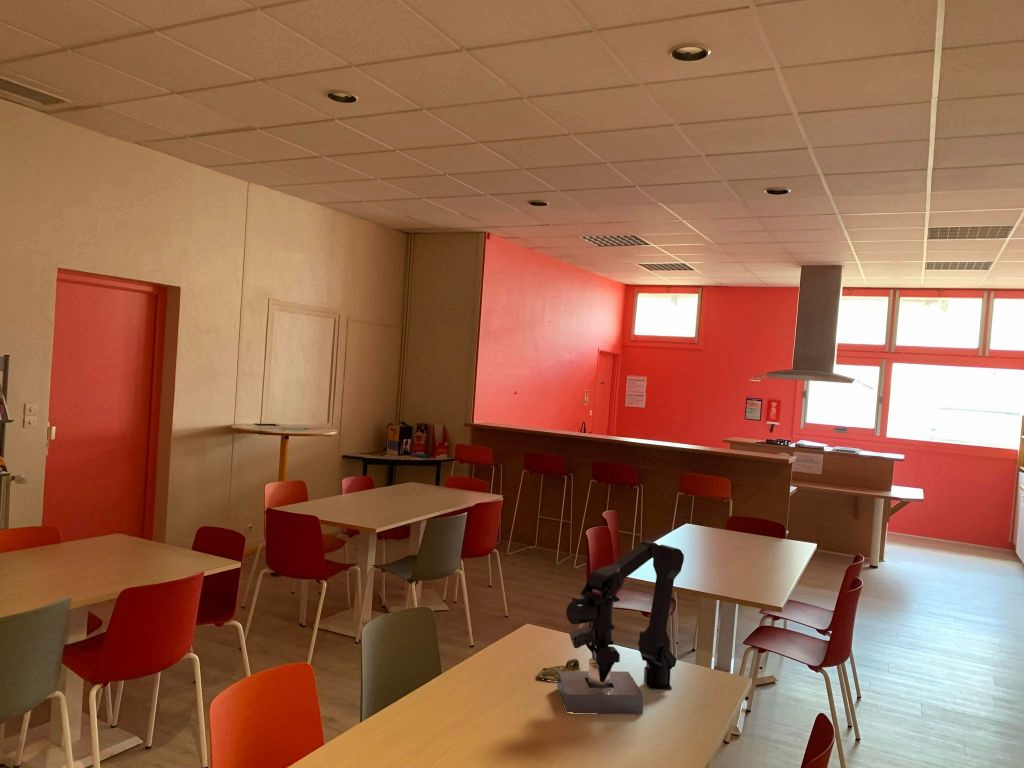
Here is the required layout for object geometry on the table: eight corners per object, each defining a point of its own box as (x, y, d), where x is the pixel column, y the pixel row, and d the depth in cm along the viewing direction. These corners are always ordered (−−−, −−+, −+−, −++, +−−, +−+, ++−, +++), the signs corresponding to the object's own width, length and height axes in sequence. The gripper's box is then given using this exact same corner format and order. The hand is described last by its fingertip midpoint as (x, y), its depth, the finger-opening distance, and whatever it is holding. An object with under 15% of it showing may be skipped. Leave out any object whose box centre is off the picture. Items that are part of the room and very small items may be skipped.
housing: (627, 689, 211) (628, 671, 211) (642, 714, 195) (643, 694, 195) (557, 689, 209) (557, 671, 209) (566, 714, 193) (567, 694, 193)
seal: (547, 690, 212) (588, 680, 220) (548, 674, 211) (590, 664, 219) (528, 675, 219) (569, 666, 228) (530, 660, 219) (570, 651, 227)
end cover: (607, 687, 206) (608, 657, 206) (612, 696, 200) (613, 665, 200) (585, 687, 205) (586, 657, 205) (590, 696, 199) (591, 665, 199)
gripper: (566, 608, 211) (564, 664, 211) (578, 629, 192) (576, 691, 192) (605, 608, 212) (603, 664, 212) (621, 630, 193) (618, 691, 193)
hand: (599, 677), depth 202 cm, fingers closed on end cover, 6 cm apart
